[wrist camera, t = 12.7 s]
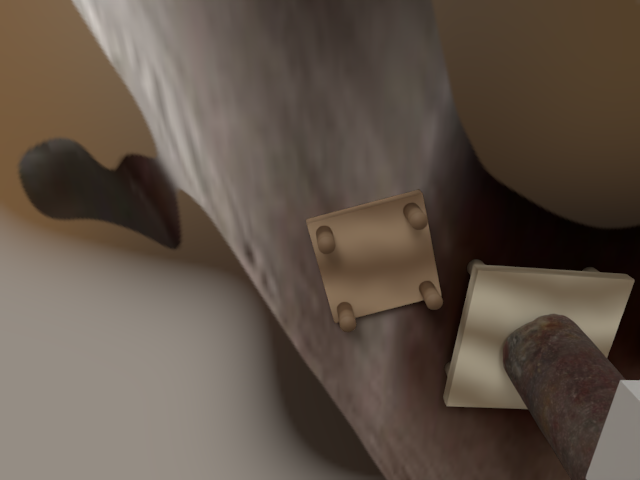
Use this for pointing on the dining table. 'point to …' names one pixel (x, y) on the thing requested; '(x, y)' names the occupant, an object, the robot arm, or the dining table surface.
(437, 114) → the dining table surface
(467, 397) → the small wooden stool
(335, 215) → the upturned stool decor
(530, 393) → the brown wooden log
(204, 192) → the dining table surface
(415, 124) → the dining table surface
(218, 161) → the dining table surface
